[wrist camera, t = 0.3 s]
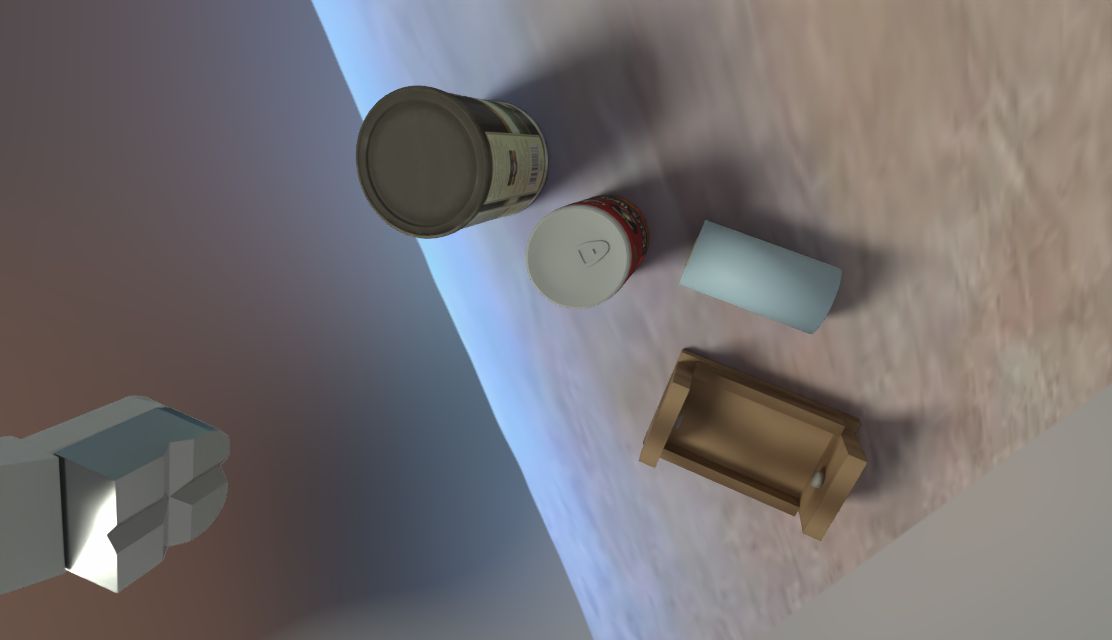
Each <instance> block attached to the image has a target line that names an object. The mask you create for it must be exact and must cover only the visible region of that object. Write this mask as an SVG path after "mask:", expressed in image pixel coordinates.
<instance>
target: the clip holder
mask: <svg viewBox="0 0 1112 640" xmlns="http://www.w3.org/2000/svg"><path fill="white" fill-rule="evenodd" d="M860 425H861V423H860V421H859V419H857V418H854V417H852V416H849V415H847V414H844V413H842V412H839V411H837V410H834V409H832V408H829V407H827V406H824V405H822V404H819V403H817V402H814V401H812V400H809V399H807V398H804V397H802V396H799V395H797V394H794V393H792V392H789V391H787V390H784V389H782V388H779V387H777V386H774V385H772V384H769V383H767V382H764V381H762V380H759V379H757V378H754V377H752V376H749V375H747V374H744V373H742V372H739V371H737V370H734V369H732V368H729V367H727V366H725V365H722V364H720V363H717V362H715V361H712V360H710V359H707V358H705V357H702V356H700V355H697V354H695V353H692V352H690V351H687V350H685V349H683V350H682V352H681V354H680V357H679V359H678V361H677V364H676V366H675V368H674V371H673V373H672V375H671V378H670V380H669V382H668V385H667V387H666V389H665V392H664V394H663V396H662V399H661V401H660V403H659V406H658V408H657V410H656V413H655V415H654V417H653V420H652V422H651V424H650V427H649V429H648V431H647V434H646V436H645V438H644V441H643V444H644V445H643V448H642V451H641V454H640V458H639V461H640V462H643V463H645V464H647V465H649V466H652V467H654V468H655V466H656V464H657V462H658V460H659V457H660V458H662V459H664V460H667V461H669V462H671V463H673V464H676V465H678V466H680V467H683V468H685V469H687V470H689V471H692V472H694V473H696V474H699V475H701V476H703V477H705V478H708V479H710V480H712V481H715V482H717V483H719V484H722V485H724V486H726V487H728V488H731V489H733V490H735V491H738V492H740V493H742V494H744V495H747V496H749V497H751V498H754V499H756V500H758V501H760V502H763V503H765V504H767V505H770V506H772V507H774V508H776V509H779V510H781V511H783V512H786V513H788V514H790V515H793V516H795V515H796V513H797V511H798V512H799V514H800V520H801V525H802V531H803V533H804V534H806V535H808V536H811V537H813V538H815V539H817V540H820V541H821V540H822V538H823V536H824V535H825V533H826V531H827V530H828V528H829V526H830V525H831V523H832V521H833V520H834V518H835V516H836V515H837V513H838V511H839V510H840V508H841V506H842V505H843V503H844V501H845V500H846V498H847V496H848V495H849V493H850V491H851V490H852V488H853V486H854V484H855V483H856V481H857V479H858V478H859V476H860V474H861V473H862V471H863V469H864V468H865V466H866V464H867V463H868V462H867V460H866V458H865V455H864V453H863V451H862V448H861V446H860V444H859V441H858V439H857V437H856V432H857V430H858V429H859V427H860Z"/></svg>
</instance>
